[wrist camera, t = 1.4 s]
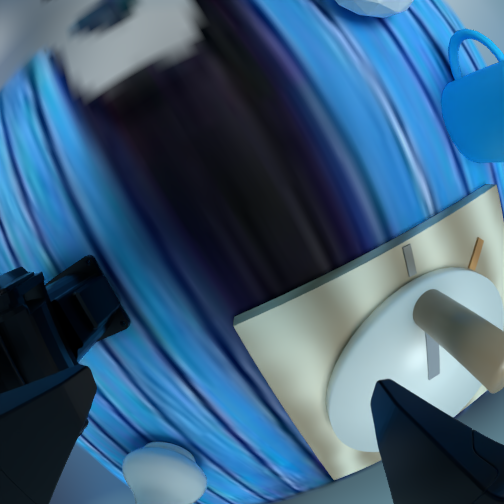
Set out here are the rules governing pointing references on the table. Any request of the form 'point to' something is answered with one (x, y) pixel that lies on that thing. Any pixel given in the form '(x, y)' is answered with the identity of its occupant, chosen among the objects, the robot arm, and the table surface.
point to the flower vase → (164, 474)
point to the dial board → (362, 314)
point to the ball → (375, 7)
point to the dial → (421, 350)
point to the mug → (475, 104)
